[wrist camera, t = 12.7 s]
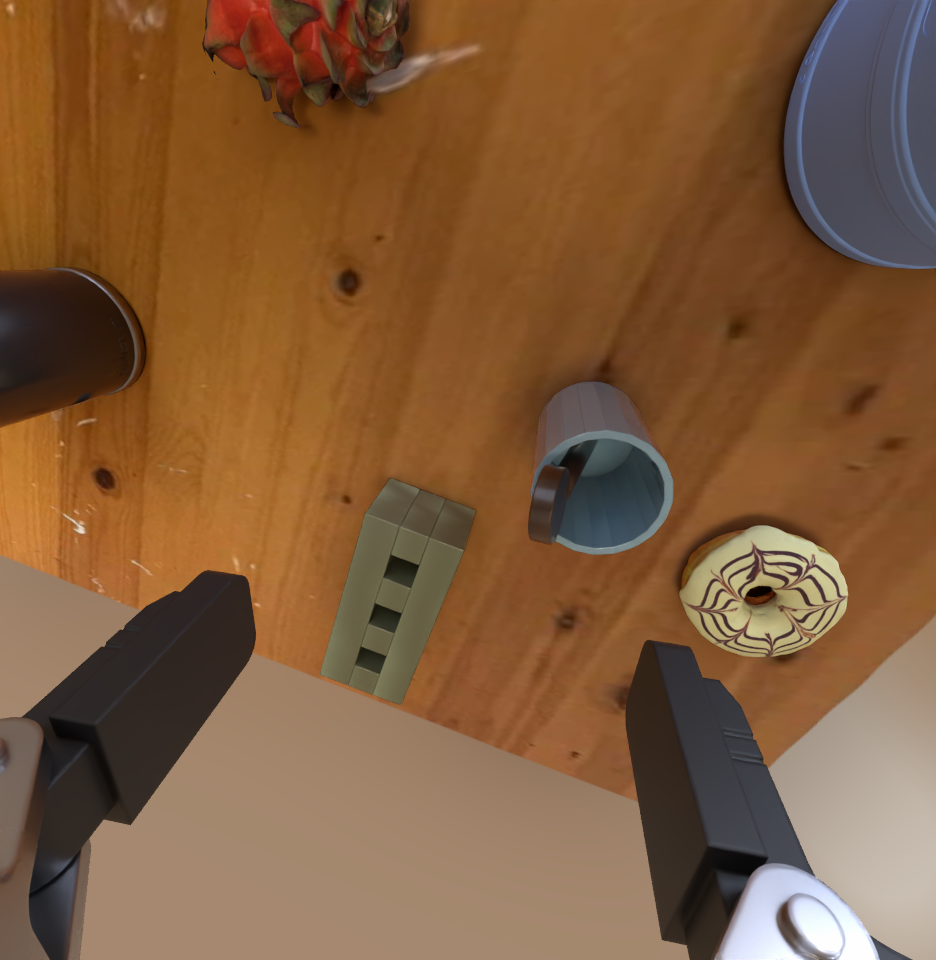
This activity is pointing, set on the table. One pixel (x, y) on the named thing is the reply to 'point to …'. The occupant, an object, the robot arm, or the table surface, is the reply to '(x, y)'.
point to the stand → (395, 589)
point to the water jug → (868, 132)
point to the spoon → (556, 492)
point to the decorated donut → (775, 615)
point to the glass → (605, 469)
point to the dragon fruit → (308, 45)
